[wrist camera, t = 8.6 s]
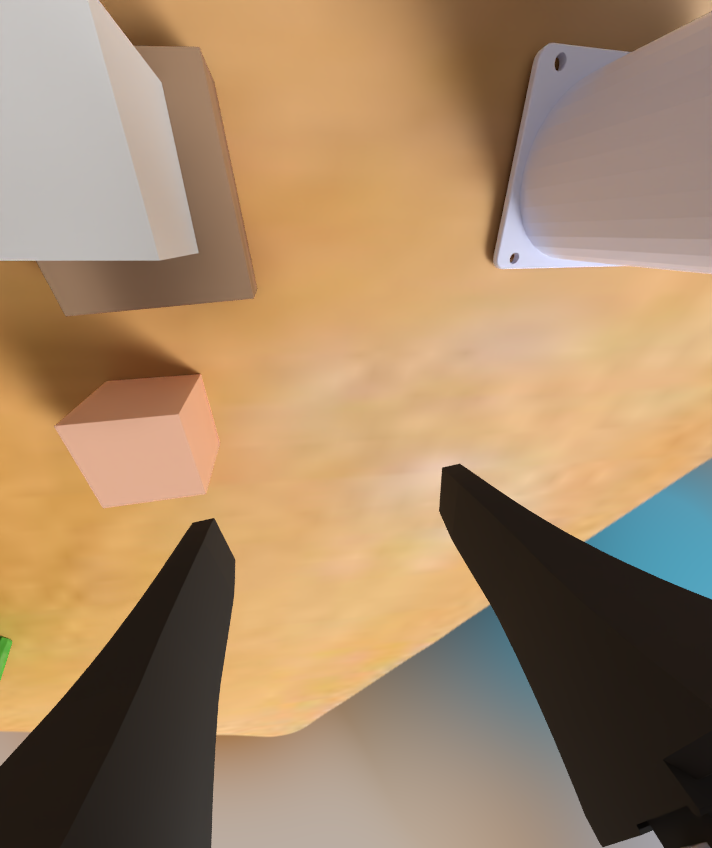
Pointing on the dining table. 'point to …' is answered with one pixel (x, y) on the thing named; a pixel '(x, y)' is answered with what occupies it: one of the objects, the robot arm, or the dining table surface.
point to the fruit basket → (4, 652)
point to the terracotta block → (143, 439)
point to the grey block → (84, 141)
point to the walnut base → (208, 204)
